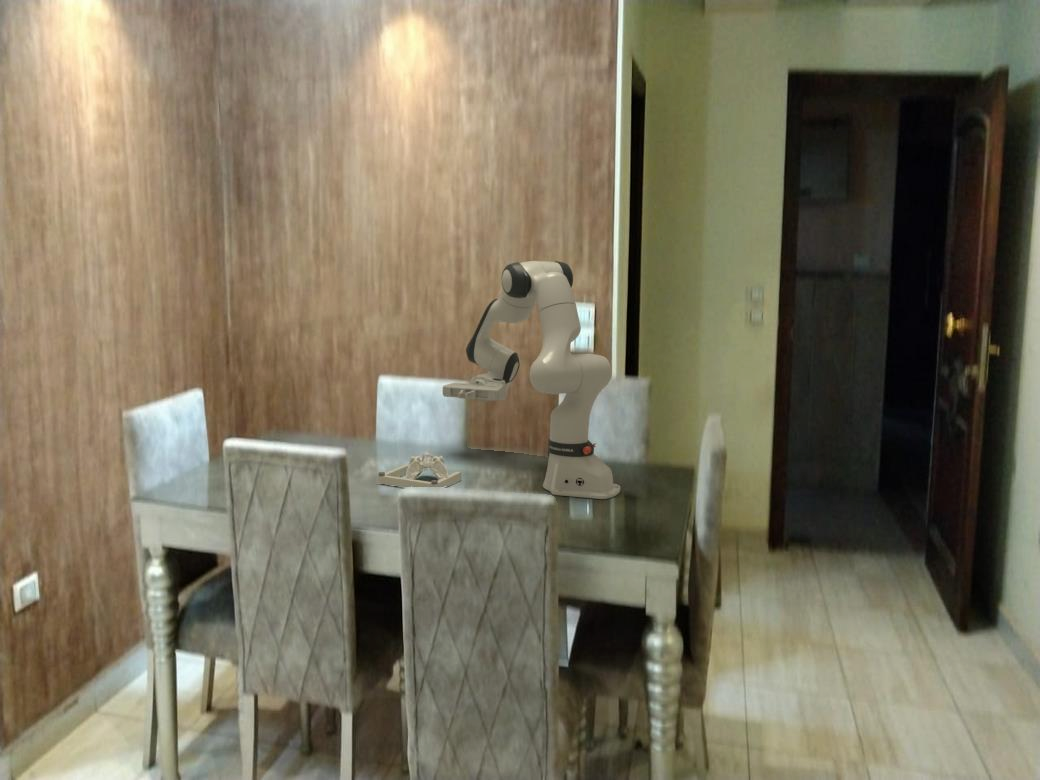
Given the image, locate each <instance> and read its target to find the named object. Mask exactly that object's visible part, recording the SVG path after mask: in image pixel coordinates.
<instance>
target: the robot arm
mask: <svg viewBox="0 0 1040 780" xmlns="http://www.w3.org/2000/svg"><path fill="white" fill-rule="evenodd" d="M501 285H502V289H501V294H500V296H499V298H494V299H493V300H491V301H490V303H488V305H487V306H486V308H485V309H484V312H483V314H482V315H481V318H480V320H479V322H478V323H477V326H476V329H475V331H474V333H473V335H472V336H471V338H470V340H469V341H468V343H467V345H466V347H465V353H466V357H467V360H468V361H469V362H470V363H473V364H475V365H477V366H480V367H482V368H484V369H486V370H487V371H486V372H484V373H481V374H478V375H475V376H473V377H471V379H470V380H469V382H467V383H466V382H451V383H447V384H444V385H442V396H443V397H446V398H456V399H457V398H458V399H465V400H470V399H472V400H473V401H475V402H476V403H485V402H491V401H504V400H506V398H507V397H506V396H507V390H508V389H509V388H510V386H511V384H512V381H513V380H514V379H515V378H516V376H517V374H518V372H519V370H520V365H521V363H520V357H519V355H518V353H517V352H516V351H515V350H513V349H510V348H509V347H507V346H505V345H503V344H501V343H500V342H497V341H496V340H494V339H493V338H491V336H490V333H491V331H492V329H493V328H494V325H495V323H496V322H498V323H499V322H501V323H506V324H518V323H521V322H524V321H526V320H528V318H530V317H531V314H532V313H533V310H534V308H535V305H536V304H537V305H536V306H537V311H538V315H539V321H540V326H541V333H542V345H541V350H540V353H539V355H538V356H537V358H536V359H535V360H534V361H533V362H532V364H531V366H530V369H529V373H528V374H529V381H530V384H531V386H532V388H534V390H535V391H537V393H543V394H547V395H559V394H560V395H561V394H562V395H563V394H565V395H564V398H563V400H562V401H561V402H560V403H559V404H558V405H556V407H554V408H553V410H552V411H551V413H550V422H549V423H550V424H549V438H548V441H547V458H548V460H547V461H548V462H547V468H546V473H545V478H544V481H543V483H542V488H544V489H545V490H547V491H549V492H550V493H551V495H553V496H554V495H555V496H566V497H573V498H574V497H575V498H586V499H587V498H588V499H597V500H607V499H611V498H613V497H616V496H617V495H618V494H620V492H621V486H620V485H619V484H618V483H617V484H616V483H614V477H613V476H614V475H613V473H612V472H613V471H612V469H611V467H610V466H608V465H607V464H606V463H605V462H604V461H602V460H601V458H599V457H598V456H597V455H596V454H594V453H595V448H596V444H597V443H596V442H594V443H592V442H591V441H590V440H589V428H590V427H589V426H590V415H591V411H592V409H593V407H594V404H595V402H596V399H597V398H598V395H599V394H600V393H601V392H602V391H603V390H604V389H605V388H606V387H607V386H608V385H609V383H610V382H611V378H612V375H613V372H612V371H613V370H612V366H611V364H610V362H609V359H607V357H606V356H603V355H600V354H595V353H589V352H588V353H573V354H572V352H571V343H573V342H574V341H575V340H576V339H577V338H578V337H579V335H580V333H581V330H582V326H581V321H580V317H579V312H578V309H577V303H576V300H575V296H574V293H573V290H572V287H573V285H574V274H573V271H572V269H571V267H570V265H569V264H568V263H565V262H564V261H559V260H556V261H547V260H546V261H543V260H530V261H529V260H528V261H522V262H518V261H517V262H513V263H509V264H506V265H505V266H504V268H503V270H502V273H501Z"/></svg>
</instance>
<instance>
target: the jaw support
mask: <svg viewBox="0 0 1040 780" xmlns="http://www.w3.org/2000/svg"><path fill="white" fill-rule="evenodd" d="M426 456H427V457H426ZM425 457H426V458H425ZM408 464H409V465H408V468H407V473H406V475H405V476H406V478H407V479H413V480H417V478H418V477H419V476H420V475H421V474H422V473H423V471H424V472H425V471H429V470H430V471H431V472H432V473H433V475H434V476H435V477H436V480H437V481H438V480H440V479H442V478H444V477H446V478H447V477H448V475H449V470H448V467H447V466H446V462H445V459H444V457H443V456H442V455H439V456H437V455H432V454H431V453H429V451H424V453H423V454H422V455H417V456H414V455H411V457H410V460H409V462H408Z"/></svg>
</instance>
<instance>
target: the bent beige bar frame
mask: <svg viewBox="0 0 1040 780" xmlns="http://www.w3.org/2000/svg"><path fill="white" fill-rule="evenodd" d="M408 465H409V463H405V464H404V465H403V464H402V465H401V466H398V467H395V468H393V469H391V470H388V471H386V472H384V471H380V472H378V475H377V479H378V480H377V484H378V483H380V484H379V485H381V484H386V485H385V486H387V485H395V486H399V487H398V488H400V487H401V486H402V488H401V489H404V488H403V487H411V486H412V487H444V486H449V485H451V486H453V485H455V484H456V483H458V482H460V481H462V471H455V472H453V473H451V474H448V477H447V478H446V477H444V478H442V479H440V480H437V479H432V480H431V481H426V480H420V479H415V480H413V479H407V477H406V478H404V476H406V475H405V474H406V473H407V468H408ZM403 475H404V476H403ZM400 476H402V477H400ZM452 484H453V485H452ZM449 487H450V486H449Z"/></svg>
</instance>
